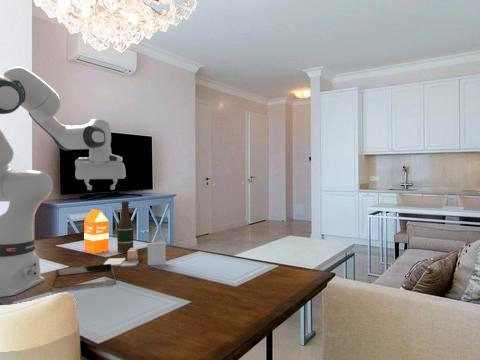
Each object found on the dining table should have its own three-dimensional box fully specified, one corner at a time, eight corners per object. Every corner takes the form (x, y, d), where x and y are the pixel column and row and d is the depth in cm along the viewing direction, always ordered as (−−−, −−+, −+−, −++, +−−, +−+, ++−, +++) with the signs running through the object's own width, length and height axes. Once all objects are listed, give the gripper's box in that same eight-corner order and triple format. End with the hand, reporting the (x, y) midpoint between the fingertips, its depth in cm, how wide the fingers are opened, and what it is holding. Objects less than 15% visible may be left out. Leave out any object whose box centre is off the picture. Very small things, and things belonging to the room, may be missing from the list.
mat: (120, 265, 139) (120, 264, 139) (102, 266, 138) (102, 264, 138) (125, 259, 149) (125, 258, 149) (109, 259, 148) (108, 258, 148)
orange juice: (93, 253, 160) (93, 211, 159) (84, 251, 165) (83, 209, 165) (109, 250, 166) (108, 209, 166) (99, 248, 171) (98, 208, 171)
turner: (136, 266, 138) (135, 254, 138) (120, 267, 137) (120, 254, 137) (140, 259, 150) (140, 247, 150) (126, 259, 149) (126, 248, 149)
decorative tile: (115, 288, 115) (114, 270, 134) (115, 279, 115) (114, 262, 134) (48, 296, 108) (57, 276, 127) (47, 287, 108) (56, 268, 127)
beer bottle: (136, 249, 169) (136, 200, 168) (129, 252, 161) (129, 202, 161) (121, 248, 170) (121, 200, 169) (114, 252, 162) (113, 202, 161)
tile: (165, 264, 140) (165, 243, 140) (147, 265, 140) (147, 243, 139) (165, 263, 142) (165, 242, 142) (148, 264, 141) (148, 242, 141)
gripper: (72, 157, 142) (73, 190, 142) (123, 157, 145) (124, 189, 145) (77, 157, 148) (78, 189, 149) (126, 157, 151) (126, 188, 151)
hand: (101, 189), depth 147 cm, fingers open, 8 cm apart
